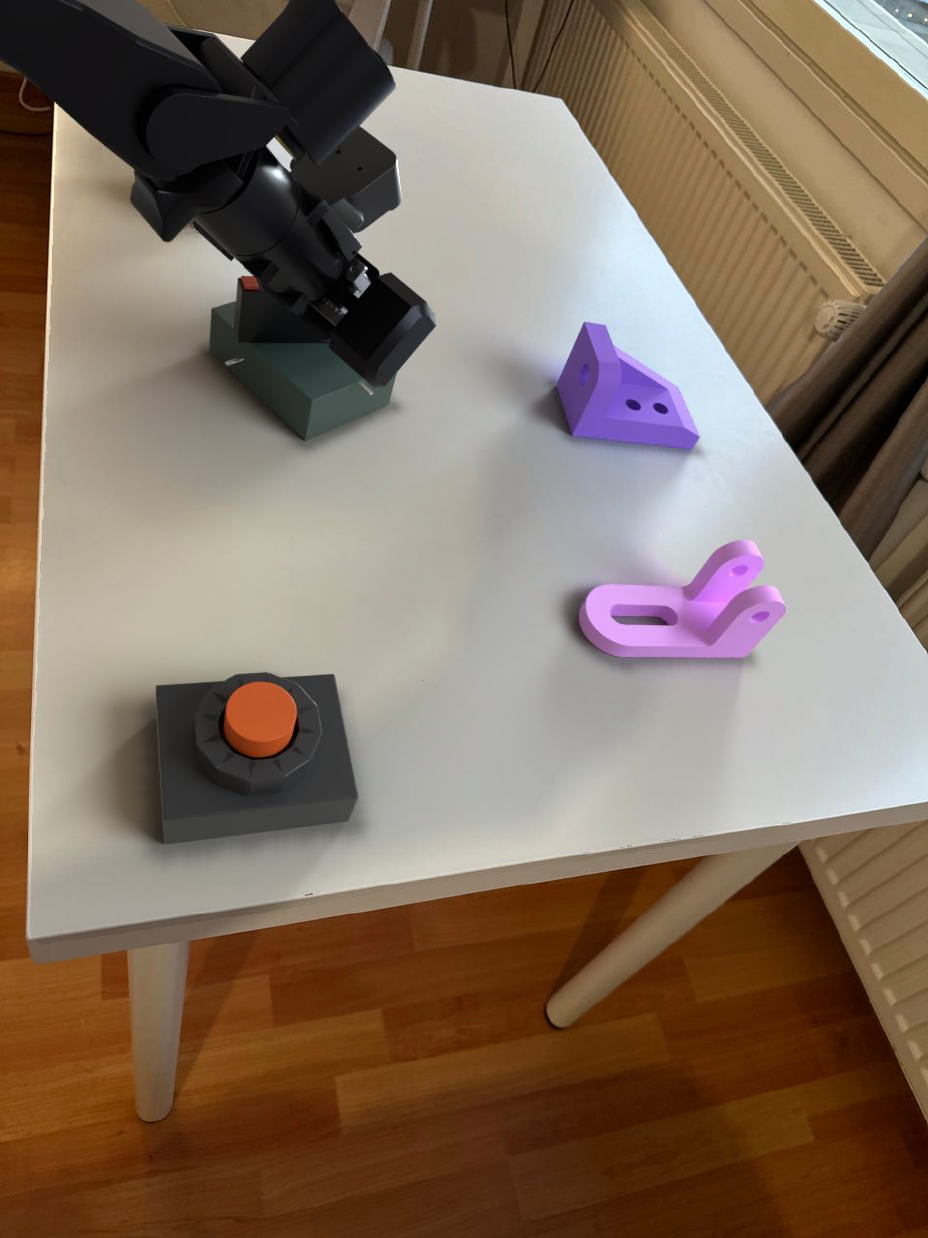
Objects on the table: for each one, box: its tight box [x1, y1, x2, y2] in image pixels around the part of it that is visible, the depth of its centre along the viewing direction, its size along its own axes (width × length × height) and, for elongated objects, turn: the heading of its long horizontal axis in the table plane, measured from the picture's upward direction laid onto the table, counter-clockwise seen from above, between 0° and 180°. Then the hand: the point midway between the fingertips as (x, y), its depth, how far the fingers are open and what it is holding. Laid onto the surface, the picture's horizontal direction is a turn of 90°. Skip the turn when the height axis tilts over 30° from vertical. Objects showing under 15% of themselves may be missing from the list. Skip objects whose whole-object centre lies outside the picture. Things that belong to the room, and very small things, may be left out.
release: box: [155, 671, 359, 845], centre depth 48 cm, size 10×8×5 cm
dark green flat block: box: [208, 300, 398, 442], centre depth 70 cm, size 15×15×4 cm
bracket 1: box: [556, 321, 701, 450], centre depth 78 cm, size 12×7×7 cm, turn 98°
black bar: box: [234, 275, 329, 343], centre depth 67 cm, size 11×2×5 cm, turn 111°
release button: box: [224, 682, 297, 757], centre depth 46 cm, size 4×4×2 cm
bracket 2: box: [578, 539, 787, 659], centre depth 63 cm, size 13×6×7 cm, turn 100°
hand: (359, 321), depth 66 cm, fingers closed
